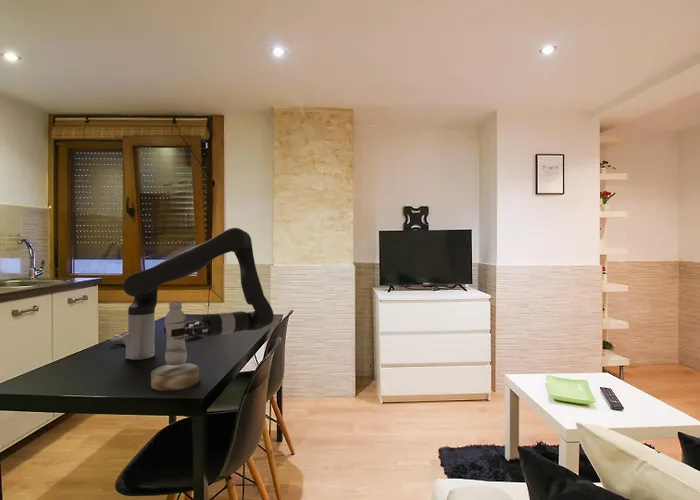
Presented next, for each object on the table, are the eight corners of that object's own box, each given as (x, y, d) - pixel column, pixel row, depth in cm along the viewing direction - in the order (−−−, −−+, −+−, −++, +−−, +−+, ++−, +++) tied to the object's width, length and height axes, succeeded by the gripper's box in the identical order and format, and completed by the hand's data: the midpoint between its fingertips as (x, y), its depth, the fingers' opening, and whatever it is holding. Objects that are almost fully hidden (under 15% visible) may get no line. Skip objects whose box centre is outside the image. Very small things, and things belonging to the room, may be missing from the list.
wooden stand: (142, 390, 118) (142, 375, 118) (162, 375, 132) (162, 362, 132) (189, 390, 118) (189, 375, 118) (204, 375, 132) (204, 362, 132)
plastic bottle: (173, 369, 121) (172, 304, 120) (160, 365, 124) (159, 303, 124) (191, 363, 126) (190, 302, 126) (178, 360, 130) (178, 300, 129)
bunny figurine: (148, 336, 172) (109, 334, 167) (146, 348, 172) (108, 346, 167) (152, 332, 181) (116, 330, 176) (150, 343, 181) (114, 341, 176)
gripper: (210, 310, 140) (160, 316, 129) (227, 316, 129) (175, 323, 118) (210, 331, 140) (160, 339, 129) (228, 338, 129) (175, 347, 118)
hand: (167, 331), depth 123 cm, fingers closed on plastic bottle, 6 cm apart
